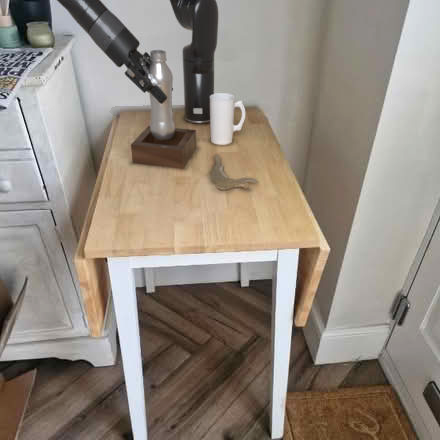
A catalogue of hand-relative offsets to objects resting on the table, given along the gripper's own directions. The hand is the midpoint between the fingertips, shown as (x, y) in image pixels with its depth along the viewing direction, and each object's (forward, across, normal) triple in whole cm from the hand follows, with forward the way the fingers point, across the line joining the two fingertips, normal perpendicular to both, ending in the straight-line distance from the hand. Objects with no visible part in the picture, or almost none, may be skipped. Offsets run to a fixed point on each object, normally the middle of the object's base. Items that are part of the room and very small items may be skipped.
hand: (167, 96), depth 105 cm
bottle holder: (+10, 0, +12) cm, 15 cm away
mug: (+20, +13, +1) cm, 24 cm away
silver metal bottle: (+6, 0, +9) cm, 11 cm away
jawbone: (+23, -8, -2) cm, 25 cm away
